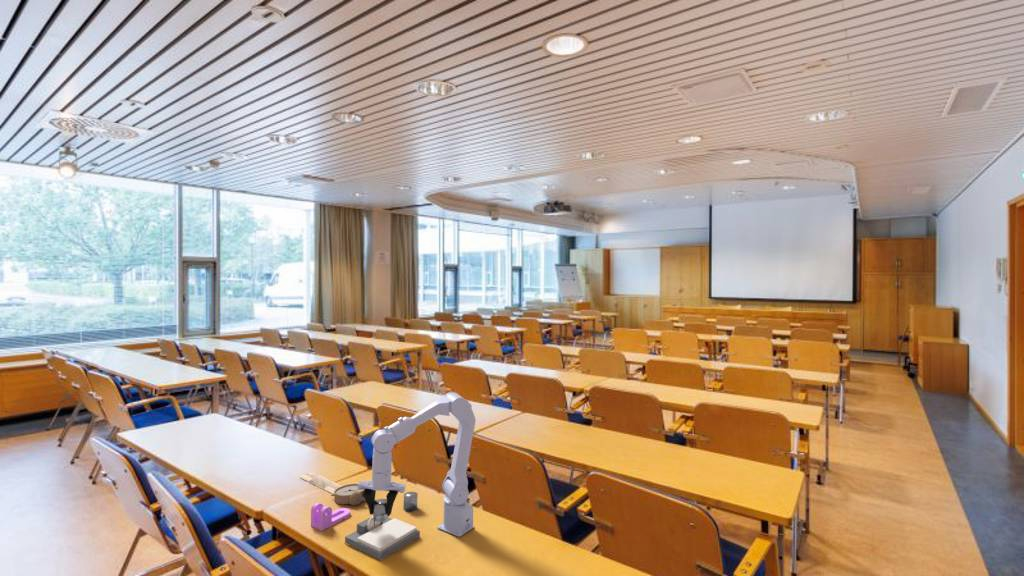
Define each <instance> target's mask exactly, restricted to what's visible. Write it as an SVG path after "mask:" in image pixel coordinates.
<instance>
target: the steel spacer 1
mask: <svg viewBox="0 0 1024 576" xmlns="http://www.w3.org/2000/svg"><path fill="white" fill-rule="evenodd" d="M372 516H373V520H374V521H376V522H383V521H386V520H388V519H389V518H390V516H387V498H377V499H375V501H374V502H373V514H372Z"/></svg>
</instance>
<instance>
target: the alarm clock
mask: <svg viewBox="0 0 1024 576" xmlns="http://www.w3.org/2000/svg"><path fill="white" fill-rule="evenodd" d="M357 486H358V483H348V484H344V485H341V487H339V488H337V489H336V490H335V491H334V494H331V495H330V496H331V497H333V498H334V499H333V501H334V503H336V504H337V505H351V506H354V507H355V505H356V506H358V505H360V504H361V502H363V501H366V500H365V498H364V497H363V493H364V489H361V490H357Z"/></svg>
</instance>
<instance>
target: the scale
mask: <svg viewBox="0 0 1024 576" xmlns="http://www.w3.org/2000/svg"><path fill="white" fill-rule="evenodd" d="M420 535H421V531H420V530H419V529H417V526H415V525H412V524H410V523H407V522H404V521H402V520H400V519H398V518H396V517H394V518H390V517H389V519H388V520H386V521H383V522H376V521H374V520H373V515H371V516H370V517H368V518H366V519H364V520H362V521H360V522H359V523H357V524H356V530H355V531H352V533H350V534H347V535H345V537H344V544H346V543H347V544H346V545H348V544H349V545H348V546H350V545H351V546H350V547H352V546H353V548H354V549H356V550H359V551H360V552H363V553H364V554H366V555H369V556H370V557H373V558H374V559H377V560H379V561H383V560H384V559H386V558H388V557H389V556H391V555H392V554H394V553H395V552H397V551H398V550H401V549H403V548H404V547H405V546H407V545H409V544H411V543H413V542H414V541H415V540H417V539H419V538H420V537H421V536H420Z"/></svg>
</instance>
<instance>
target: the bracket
mask: <svg viewBox="0 0 1024 576" xmlns="http://www.w3.org/2000/svg"><path fill="white" fill-rule="evenodd" d="M350 516H351V509H350V508H347V507H341V508H337V509H335V510H333V508H332V507H330V506H327V505H325V506H324V505H323V504H322V503H321V502H316V503H315V502H314V504H313V505H312V506H311V509H310V527H312V528H314V527H315V528H314V529H317V528H318V529H317V530H319V529H320V530H319V531H322V530H323V531H324V529H325V530H326V528H327V529H328V528H330V527H332V526H334V525H336V524H338V523H339V522H342V521H344V520H346V519H348V518H349V517H350ZM345 518H346V519H345ZM343 519H344V520H343Z"/></svg>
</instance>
